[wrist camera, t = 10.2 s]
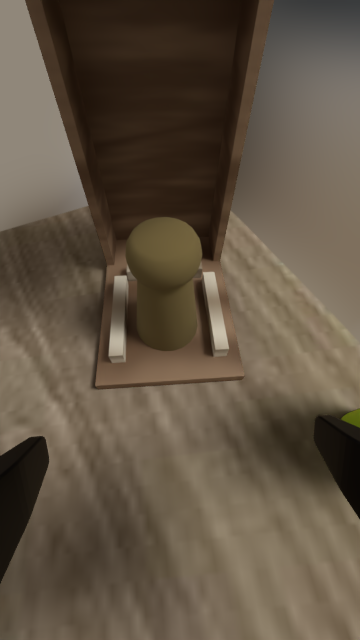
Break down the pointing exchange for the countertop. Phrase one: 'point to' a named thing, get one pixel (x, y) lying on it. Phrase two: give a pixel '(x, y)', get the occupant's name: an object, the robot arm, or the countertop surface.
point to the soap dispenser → (352, 417)
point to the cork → (164, 281)
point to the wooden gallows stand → (157, 152)
